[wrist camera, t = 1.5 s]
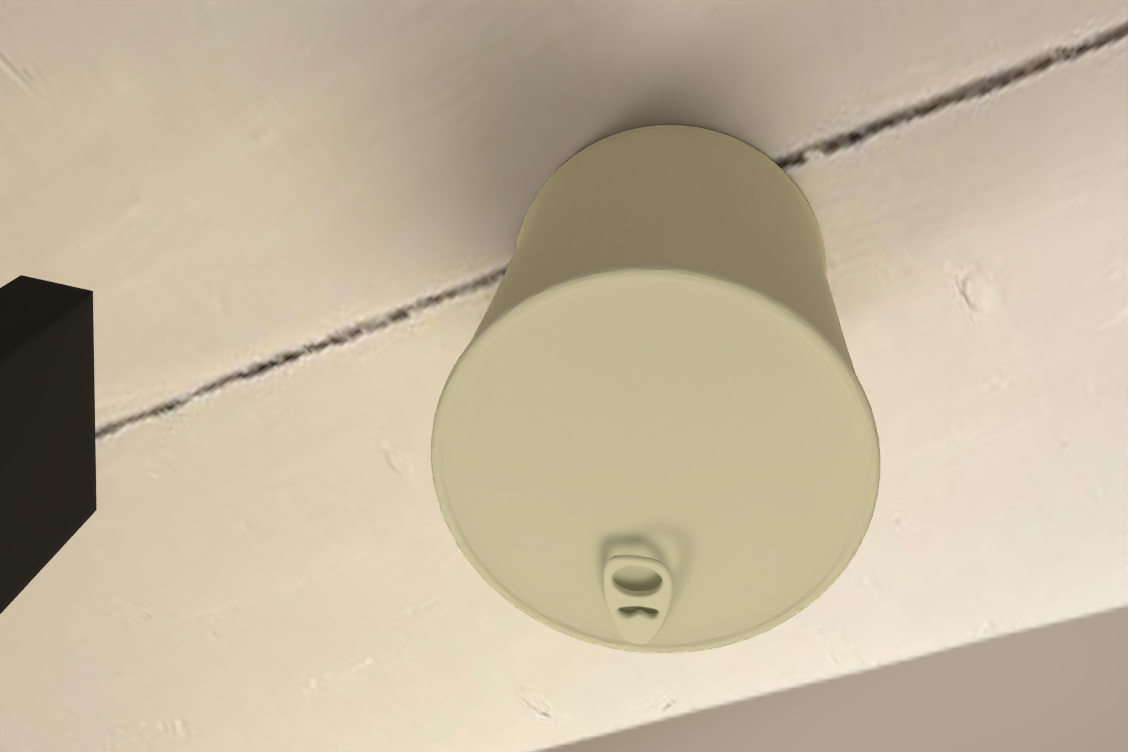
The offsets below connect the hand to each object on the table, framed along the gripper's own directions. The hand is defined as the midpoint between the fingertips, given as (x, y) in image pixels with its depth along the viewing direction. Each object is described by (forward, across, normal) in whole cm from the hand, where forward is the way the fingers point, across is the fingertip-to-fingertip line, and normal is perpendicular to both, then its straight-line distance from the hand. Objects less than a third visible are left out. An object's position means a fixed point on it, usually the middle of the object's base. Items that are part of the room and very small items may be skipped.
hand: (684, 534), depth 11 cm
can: (+21, 0, -5) cm, 21 cm away
